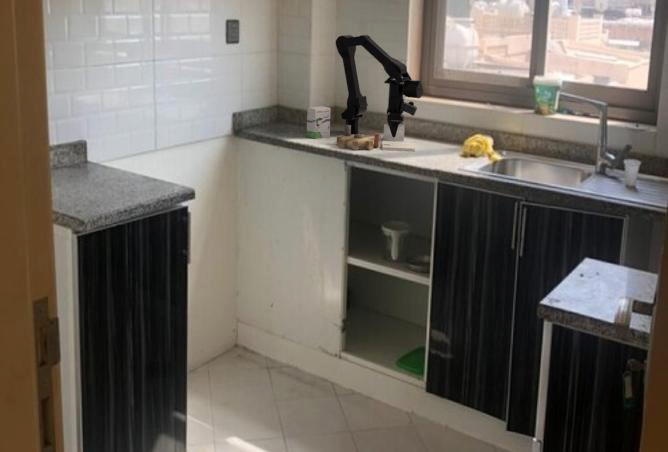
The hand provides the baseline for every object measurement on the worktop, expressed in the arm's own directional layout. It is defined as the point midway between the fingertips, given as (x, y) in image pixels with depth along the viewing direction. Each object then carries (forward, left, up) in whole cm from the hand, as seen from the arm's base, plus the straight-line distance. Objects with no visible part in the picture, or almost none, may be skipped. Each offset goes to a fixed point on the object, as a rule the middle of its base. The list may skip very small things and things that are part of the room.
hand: (393, 135), depth 336 cm
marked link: (0, 0, -2) cm, 2 cm away
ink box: (+1, -30, -2) cm, 30 cm away
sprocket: (+16, -14, -2) cm, 21 cm away
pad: (+15, +2, -2) cm, 15 cm away
